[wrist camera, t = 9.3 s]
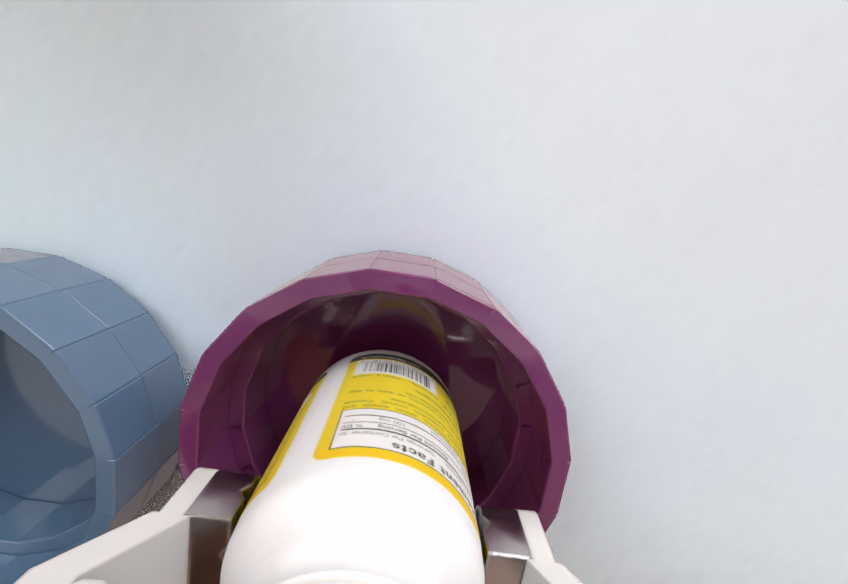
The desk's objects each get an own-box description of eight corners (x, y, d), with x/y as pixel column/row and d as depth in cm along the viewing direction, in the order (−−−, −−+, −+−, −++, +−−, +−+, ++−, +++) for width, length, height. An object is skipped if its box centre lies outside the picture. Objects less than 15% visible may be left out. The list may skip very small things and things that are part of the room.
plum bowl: (559, 276, 16) (612, 305, 12) (500, 536, 19) (525, 641, 14) (251, 228, 16) (184, 240, 11) (232, 501, 18) (171, 598, 14)
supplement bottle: (350, 503, 16) (248, 944, 7) (280, 383, 15) (37, 702, 6) (481, 448, 16) (574, 836, 6) (417, 320, 15) (411, 549, 5)
